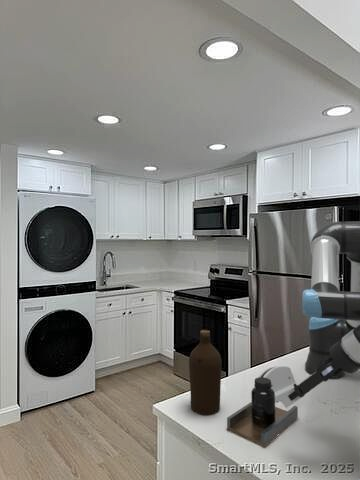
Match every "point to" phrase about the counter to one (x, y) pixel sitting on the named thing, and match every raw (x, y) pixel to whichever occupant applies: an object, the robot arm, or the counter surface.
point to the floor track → (256, 433)
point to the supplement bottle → (263, 402)
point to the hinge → (280, 380)
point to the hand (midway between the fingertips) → (294, 394)
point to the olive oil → (205, 376)
